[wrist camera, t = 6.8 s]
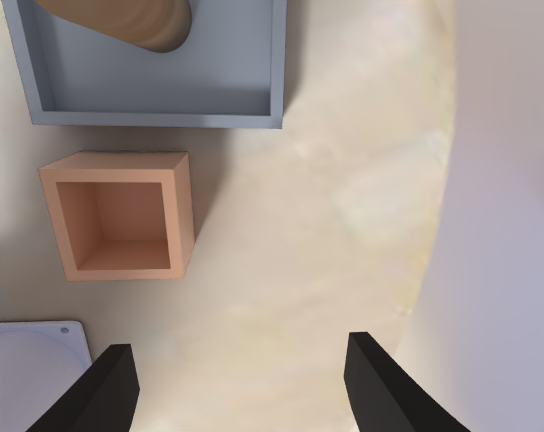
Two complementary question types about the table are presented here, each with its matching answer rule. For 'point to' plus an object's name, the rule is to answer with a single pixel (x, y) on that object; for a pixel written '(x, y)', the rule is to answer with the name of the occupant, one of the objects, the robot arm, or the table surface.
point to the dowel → (130, 20)
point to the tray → (155, 69)
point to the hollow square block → (121, 214)
